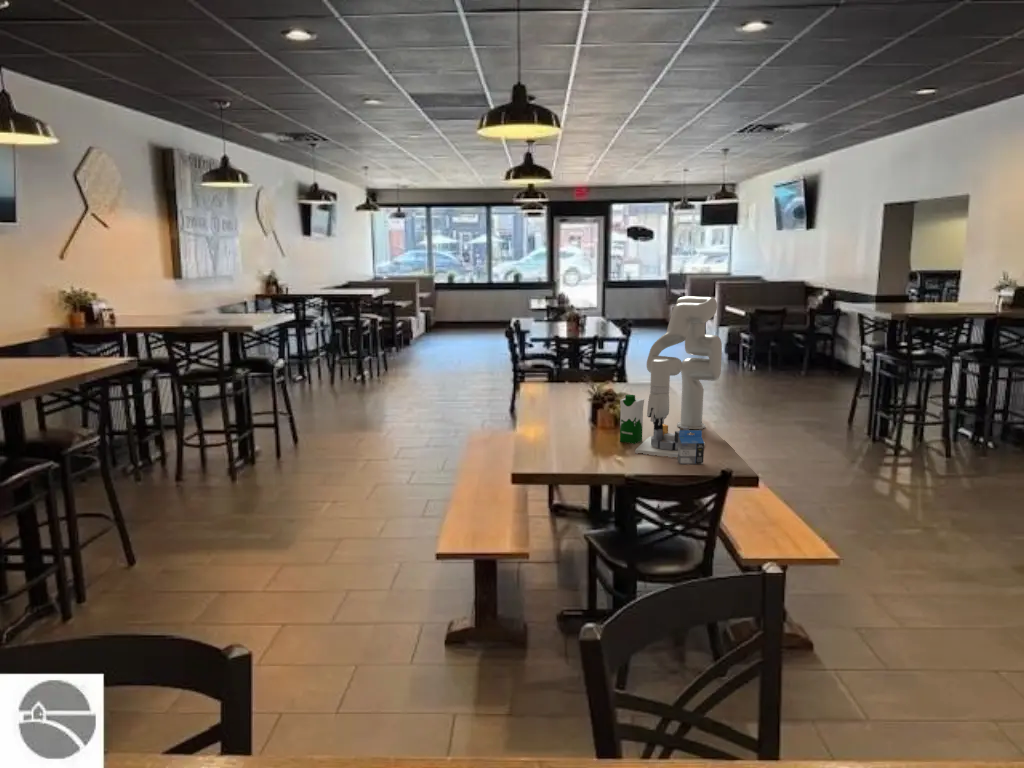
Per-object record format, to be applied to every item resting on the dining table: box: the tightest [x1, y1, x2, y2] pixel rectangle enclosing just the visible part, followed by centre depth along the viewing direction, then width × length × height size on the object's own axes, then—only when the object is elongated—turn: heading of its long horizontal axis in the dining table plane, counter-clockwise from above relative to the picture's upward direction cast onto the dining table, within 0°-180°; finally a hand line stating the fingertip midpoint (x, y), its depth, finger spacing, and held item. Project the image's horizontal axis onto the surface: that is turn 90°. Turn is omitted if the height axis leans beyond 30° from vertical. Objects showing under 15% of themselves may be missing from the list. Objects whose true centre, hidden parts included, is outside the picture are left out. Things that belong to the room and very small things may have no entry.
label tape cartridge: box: [677, 429, 705, 465], centre depth 276 cm, size 9×4×12 cm, turn 91°
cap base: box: [634, 432, 706, 458], centre depth 295 cm, size 23×23×6 cm
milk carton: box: [619, 394, 645, 445], centre depth 307 cm, size 9×9×20 cm
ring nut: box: [651, 424, 690, 451], centre depth 295 cm, size 15×15×7 cm
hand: (658, 433), depth 299 cm, fingers closed
